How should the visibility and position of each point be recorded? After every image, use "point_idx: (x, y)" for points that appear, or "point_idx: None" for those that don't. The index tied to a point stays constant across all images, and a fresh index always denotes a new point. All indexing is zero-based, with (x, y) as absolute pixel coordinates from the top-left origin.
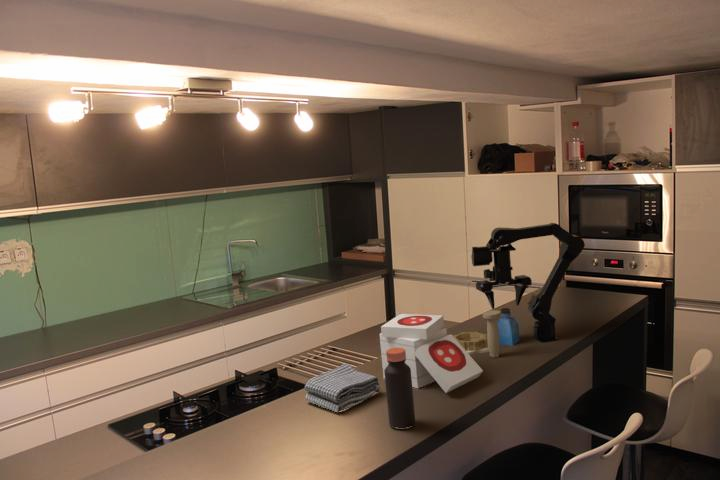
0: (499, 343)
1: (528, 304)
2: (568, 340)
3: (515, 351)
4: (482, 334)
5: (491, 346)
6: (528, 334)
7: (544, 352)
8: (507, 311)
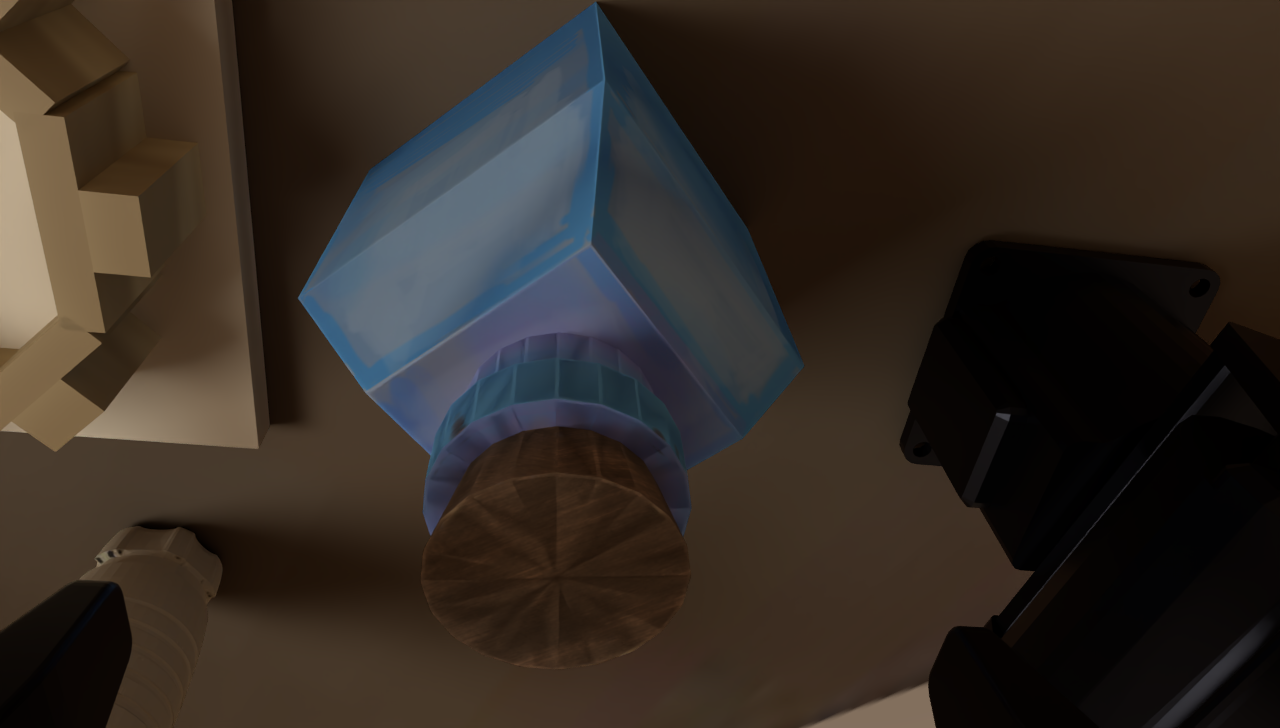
0: (180, 706)
1: (1248, 668)
2: None
3: None
4: (56, 203)
5: None
6: (1057, 49)
7: (702, 669)
8: (549, 642)
